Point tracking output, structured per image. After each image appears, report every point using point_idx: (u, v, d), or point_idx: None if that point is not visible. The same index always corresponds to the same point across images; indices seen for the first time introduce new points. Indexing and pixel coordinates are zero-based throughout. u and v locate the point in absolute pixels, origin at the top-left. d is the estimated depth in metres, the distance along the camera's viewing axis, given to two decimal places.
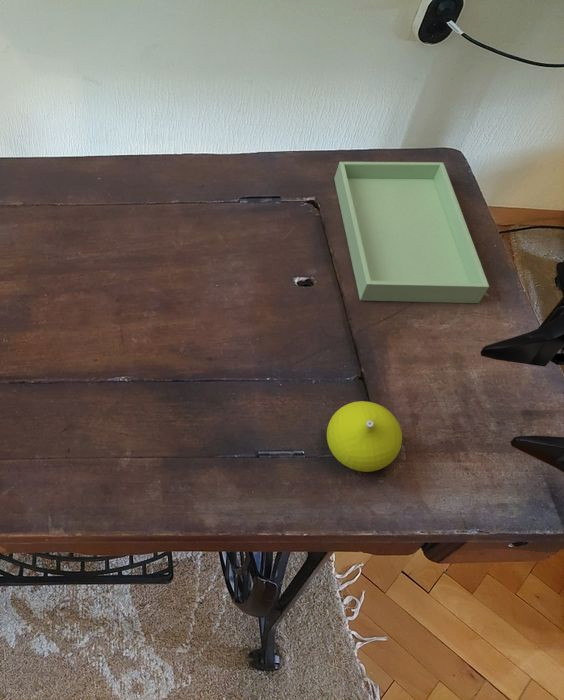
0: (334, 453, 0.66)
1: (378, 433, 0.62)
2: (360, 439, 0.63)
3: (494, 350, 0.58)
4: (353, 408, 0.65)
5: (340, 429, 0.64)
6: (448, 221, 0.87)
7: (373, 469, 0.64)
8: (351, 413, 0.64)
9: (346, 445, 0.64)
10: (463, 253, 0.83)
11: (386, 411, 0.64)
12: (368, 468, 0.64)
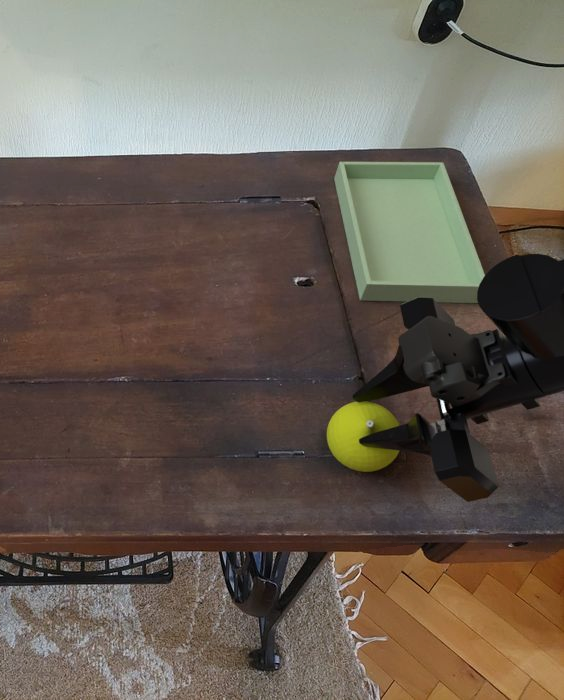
0: (334, 453, 0.66)
1: None
2: None
3: (359, 396, 0.64)
4: (353, 408, 0.65)
5: (340, 429, 0.64)
6: (448, 221, 0.87)
7: (373, 469, 0.64)
8: (351, 413, 0.64)
9: (346, 445, 0.64)
10: (463, 253, 0.83)
11: (386, 411, 0.64)
12: (368, 468, 0.64)
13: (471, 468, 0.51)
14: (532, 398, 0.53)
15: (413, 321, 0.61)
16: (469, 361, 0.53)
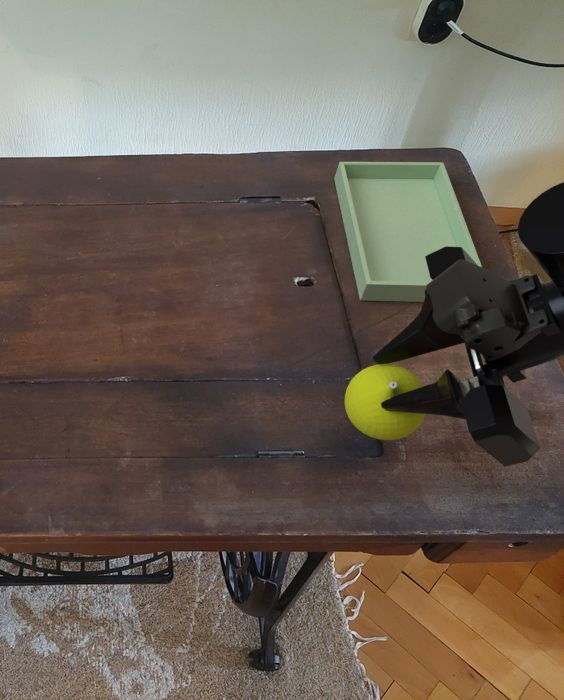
0: (353, 420, 0.60)
1: None
2: None
3: (380, 357, 0.59)
4: (374, 370, 0.59)
5: (360, 393, 0.59)
6: (448, 221, 0.87)
7: (396, 437, 0.59)
8: (372, 376, 0.59)
9: (366, 410, 0.58)
10: None
11: (410, 373, 0.59)
12: (391, 436, 0.59)
13: (511, 426, 0.46)
14: None
15: (441, 271, 0.55)
16: (507, 308, 0.47)
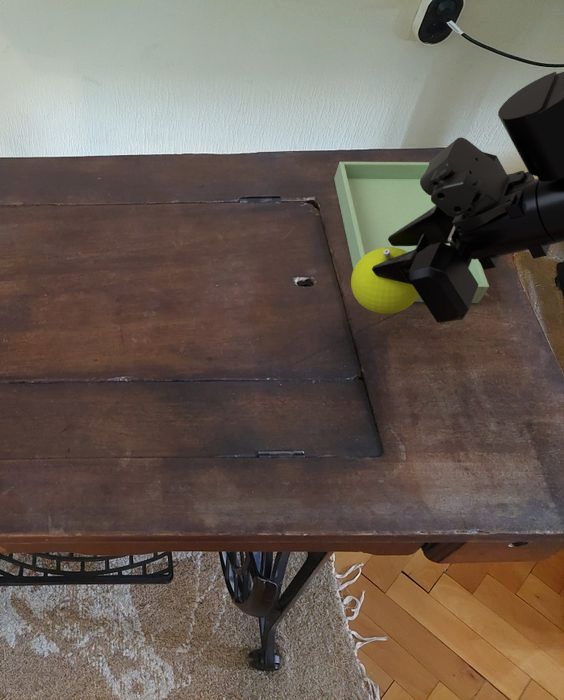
0: (352, 286, 0.70)
1: None
2: None
3: (394, 237, 0.68)
4: (384, 248, 0.68)
5: (363, 261, 0.68)
6: None
7: (380, 307, 0.68)
8: (379, 250, 0.68)
9: (362, 275, 0.68)
10: None
11: None
12: (375, 304, 0.68)
13: (441, 272, 0.54)
14: (535, 238, 0.54)
15: None
16: (483, 184, 0.55)
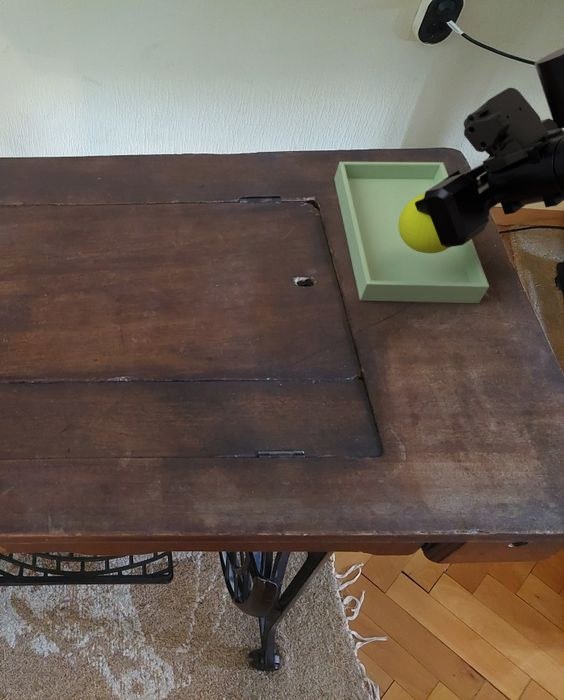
0: None
1: None
2: None
3: None
4: None
5: (414, 199, 0.76)
6: None
7: (415, 241, 0.75)
8: None
9: (407, 209, 0.76)
10: (463, 253, 0.83)
11: None
12: (411, 237, 0.75)
13: (449, 194, 0.62)
14: (547, 185, 0.60)
15: None
16: (516, 129, 0.62)
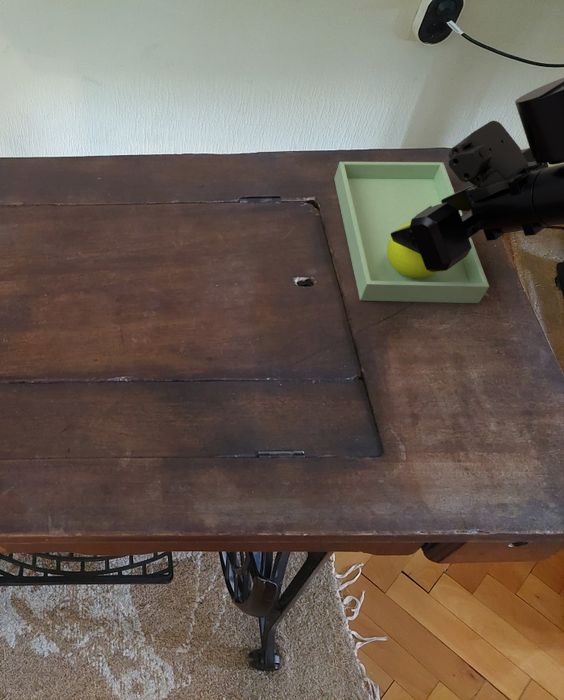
0: None
1: None
2: None
3: (446, 199, 0.78)
4: None
5: (401, 226, 0.80)
6: None
7: (402, 267, 0.79)
8: None
9: None
10: None
11: None
12: (399, 263, 0.79)
13: (434, 222, 0.65)
14: (527, 215, 0.63)
15: None
16: (498, 161, 0.65)
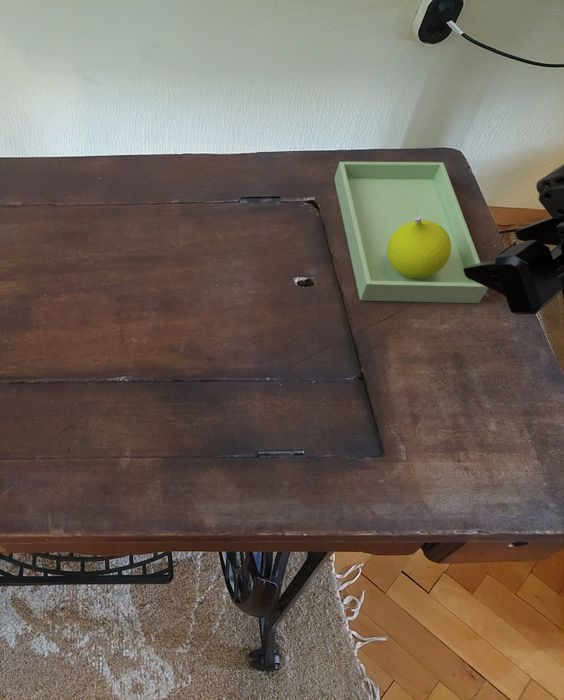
0: None
1: (421, 235, 0.77)
2: (406, 233, 0.78)
3: (521, 231, 0.73)
4: (424, 220, 0.79)
5: (402, 226, 0.80)
6: (448, 221, 0.87)
7: (402, 267, 0.79)
8: None
9: (396, 236, 0.79)
10: (463, 253, 0.83)
11: (445, 234, 0.77)
12: (399, 263, 0.79)
13: (524, 263, 0.60)
14: None
15: None
16: None
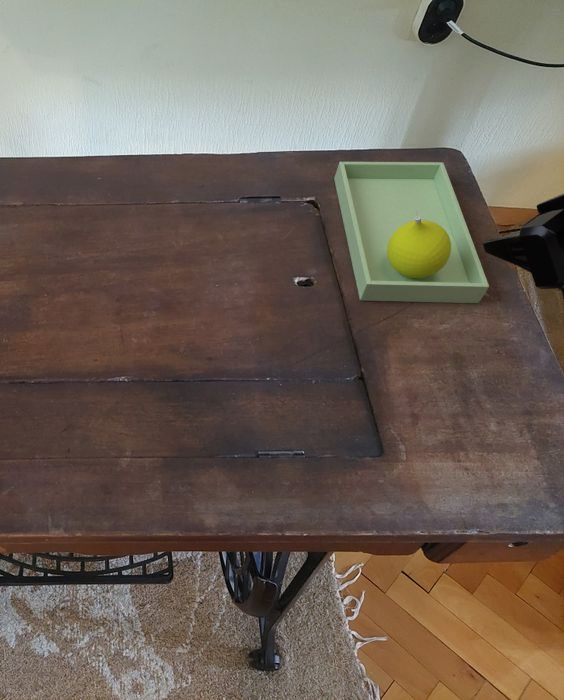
0: (387, 246, 0.81)
1: (421, 235, 0.77)
2: (406, 233, 0.78)
3: (543, 204, 0.69)
4: (424, 220, 0.79)
5: (401, 226, 0.80)
6: (448, 221, 0.87)
7: (402, 267, 0.79)
8: None
9: (396, 236, 0.79)
10: (463, 253, 0.83)
11: (445, 234, 0.77)
12: (399, 263, 0.79)
13: (551, 233, 0.56)
14: None
15: None
16: None
